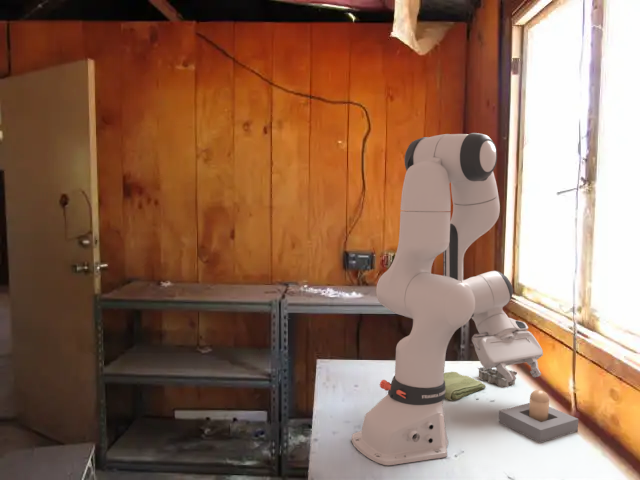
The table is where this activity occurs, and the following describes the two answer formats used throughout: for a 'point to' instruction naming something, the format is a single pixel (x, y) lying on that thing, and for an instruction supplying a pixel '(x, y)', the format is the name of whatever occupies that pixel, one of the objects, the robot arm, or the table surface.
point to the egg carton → (494, 377)
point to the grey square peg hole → (538, 423)
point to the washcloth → (460, 385)
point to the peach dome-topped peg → (539, 405)
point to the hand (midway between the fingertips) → (525, 378)
